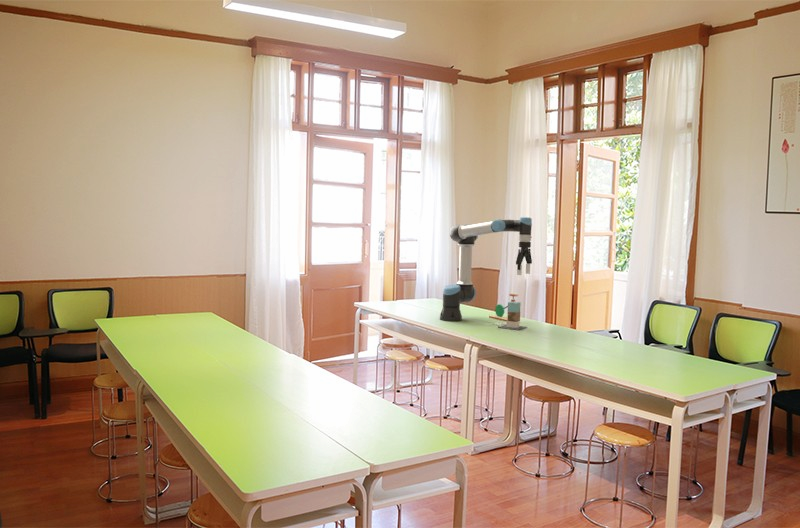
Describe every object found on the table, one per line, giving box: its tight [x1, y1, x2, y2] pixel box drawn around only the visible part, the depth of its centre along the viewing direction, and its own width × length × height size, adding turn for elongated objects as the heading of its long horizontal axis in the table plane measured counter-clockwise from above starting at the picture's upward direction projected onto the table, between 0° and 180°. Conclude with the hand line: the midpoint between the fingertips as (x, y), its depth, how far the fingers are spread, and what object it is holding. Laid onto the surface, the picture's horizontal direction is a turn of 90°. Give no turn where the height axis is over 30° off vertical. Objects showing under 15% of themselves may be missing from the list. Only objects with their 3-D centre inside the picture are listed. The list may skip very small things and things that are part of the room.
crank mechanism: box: [488, 292, 519, 323], centre depth 457 cm, size 25×7×19 cm, turn 33°
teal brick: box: [507, 301, 522, 313], centre depth 426 cm, size 6×6×6 cm
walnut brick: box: [506, 311, 521, 322], centre depth 427 cm, size 6×5×6 cm
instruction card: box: [493, 322, 507, 326], centre depth 438 cm, size 10×7×1 cm
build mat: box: [498, 320, 528, 331], centre depth 427 cm, size 14×14×4 cm
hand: (523, 274), depth 426 cm, fingers open, 13 cm apart
